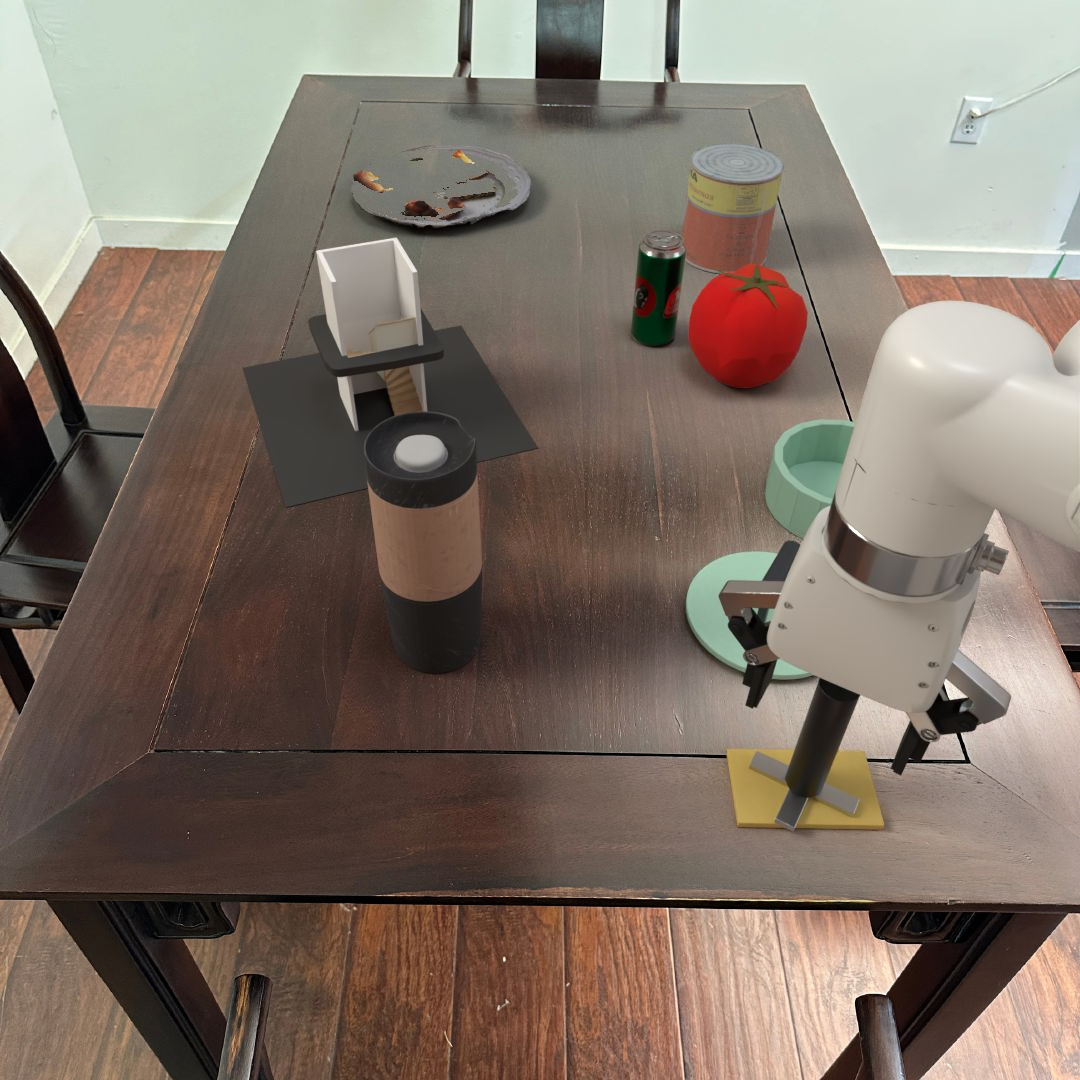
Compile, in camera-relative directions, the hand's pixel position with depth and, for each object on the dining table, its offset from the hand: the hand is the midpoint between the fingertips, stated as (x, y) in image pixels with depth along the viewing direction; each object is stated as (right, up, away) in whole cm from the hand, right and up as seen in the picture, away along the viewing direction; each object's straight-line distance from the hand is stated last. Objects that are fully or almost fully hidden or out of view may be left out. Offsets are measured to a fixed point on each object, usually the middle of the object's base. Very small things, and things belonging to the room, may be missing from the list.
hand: (827, 724), depth 63 cm
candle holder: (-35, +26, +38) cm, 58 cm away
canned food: (+5, +49, +63) cm, 80 cm away
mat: (0, -6, +6) cm, 8 cm away
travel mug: (-27, +4, +15) cm, 31 cm away
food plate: (-33, +60, +74) cm, 100 cm away
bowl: (+9, +16, +28) cm, 33 cm away
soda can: (-6, +35, +48) cm, 60 cm away
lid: (0, +6, +17) cm, 18 cm away
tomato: (+3, +31, +44) cm, 53 cm away
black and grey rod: (0, -5, +5) cm, 7 cm away
